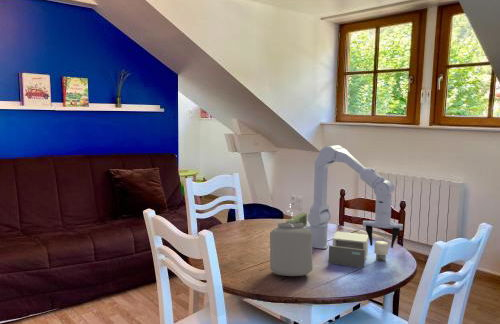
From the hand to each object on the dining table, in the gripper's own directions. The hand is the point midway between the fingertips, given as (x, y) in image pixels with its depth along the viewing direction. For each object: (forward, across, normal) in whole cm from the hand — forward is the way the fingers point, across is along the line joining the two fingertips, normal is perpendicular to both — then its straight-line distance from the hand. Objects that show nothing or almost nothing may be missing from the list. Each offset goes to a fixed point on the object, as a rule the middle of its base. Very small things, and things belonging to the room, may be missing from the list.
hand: (381, 246), depth 160 cm
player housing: (+6, -12, +3) cm, 14 cm away
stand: (+6, 0, 0) cm, 6 cm away
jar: (+6, -30, -25) cm, 40 cm away
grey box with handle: (+5, -12, -7) cm, 15 cm away
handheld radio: (+6, -41, +27) cm, 50 cm away
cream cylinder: (+3, 0, 0) cm, 3 cm away
